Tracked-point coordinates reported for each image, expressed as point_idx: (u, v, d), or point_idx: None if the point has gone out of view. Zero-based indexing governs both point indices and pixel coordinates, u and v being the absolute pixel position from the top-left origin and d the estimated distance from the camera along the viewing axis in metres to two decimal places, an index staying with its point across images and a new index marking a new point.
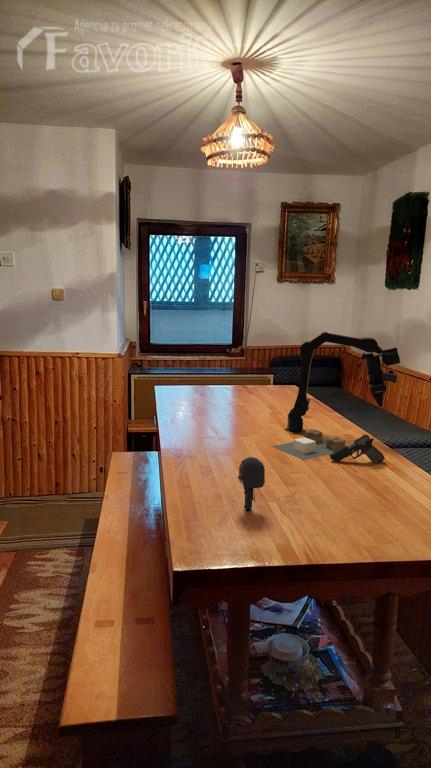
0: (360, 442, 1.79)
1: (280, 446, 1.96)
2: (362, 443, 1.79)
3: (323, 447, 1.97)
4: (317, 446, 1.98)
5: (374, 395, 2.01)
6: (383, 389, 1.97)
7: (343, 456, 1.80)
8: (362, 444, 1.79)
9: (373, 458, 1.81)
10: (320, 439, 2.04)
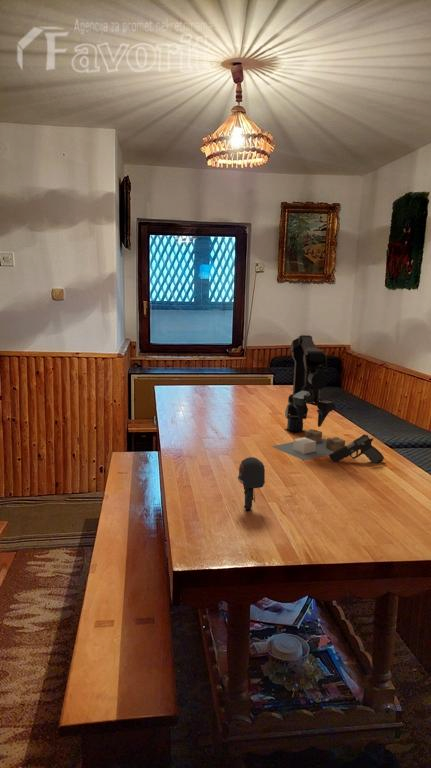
0: (359, 442, 1.79)
1: (280, 446, 1.96)
2: (361, 443, 1.79)
3: (323, 447, 1.97)
4: (317, 446, 1.98)
5: None
6: None
7: (342, 456, 1.80)
8: (361, 444, 1.79)
9: (372, 458, 1.80)
10: (320, 439, 2.04)
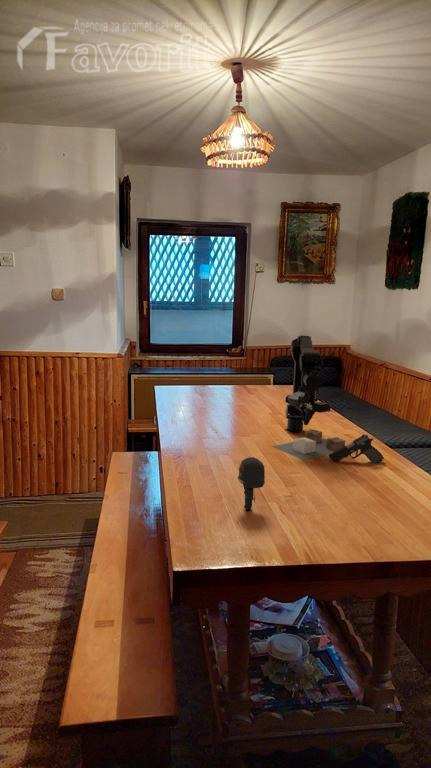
0: (359, 442, 1.79)
1: (280, 446, 1.96)
2: (361, 443, 1.79)
3: (323, 447, 1.97)
4: (317, 446, 1.98)
5: None
6: None
7: (342, 456, 1.80)
8: (361, 444, 1.79)
9: (372, 458, 1.80)
10: (320, 439, 2.04)
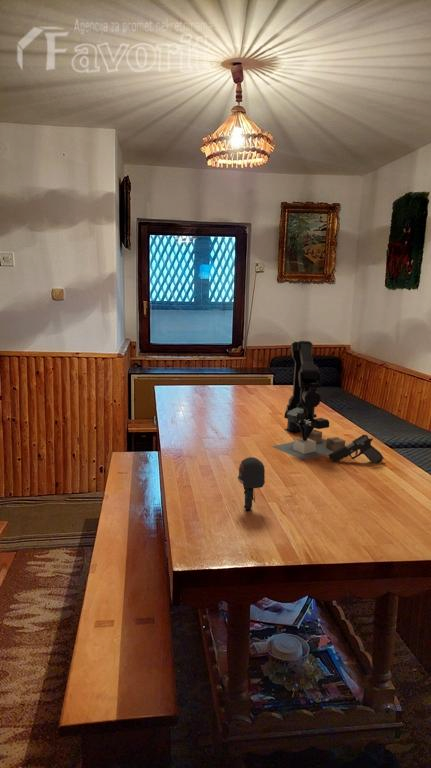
0: (359, 442, 1.79)
1: (280, 446, 1.96)
2: (361, 443, 1.79)
3: (323, 447, 1.97)
4: (317, 446, 1.98)
5: None
6: None
7: (342, 456, 1.80)
8: (361, 444, 1.79)
9: (372, 458, 1.80)
10: (320, 439, 2.04)
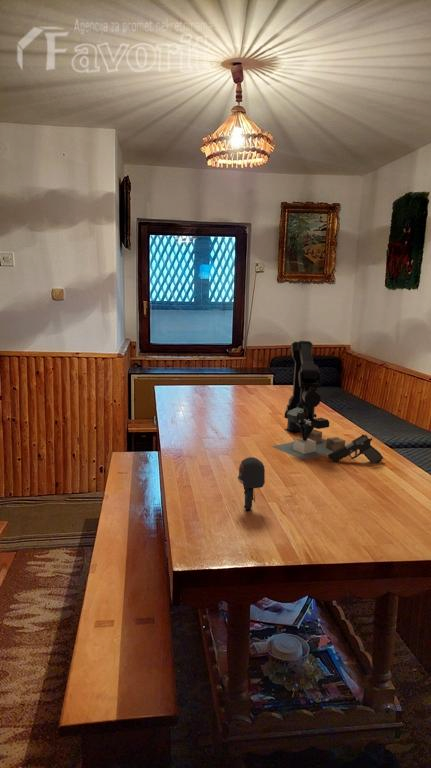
0: (358, 442, 1.79)
1: (280, 446, 1.96)
2: (360, 443, 1.79)
3: (323, 447, 1.97)
4: (317, 446, 1.98)
5: None
6: None
7: (341, 456, 1.80)
8: (360, 444, 1.79)
9: (371, 458, 1.80)
10: (320, 439, 2.04)
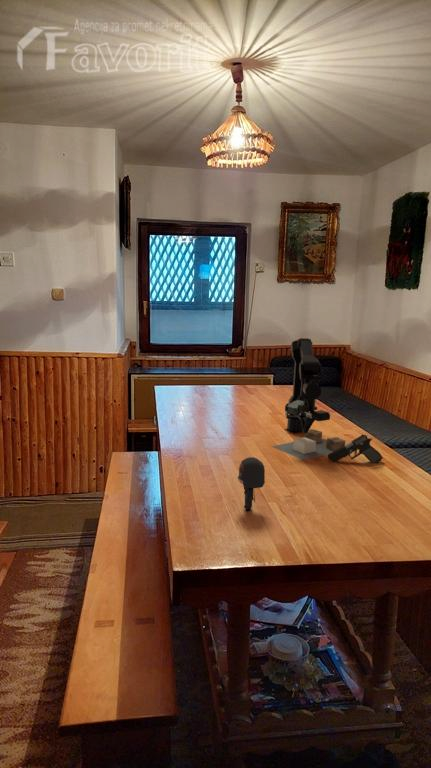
0: (358, 442, 1.79)
1: (280, 446, 1.96)
2: (360, 443, 1.79)
3: (323, 447, 1.97)
4: (317, 446, 1.98)
5: None
6: None
7: (341, 456, 1.80)
8: (360, 444, 1.79)
9: (371, 458, 1.80)
10: (320, 439, 2.04)
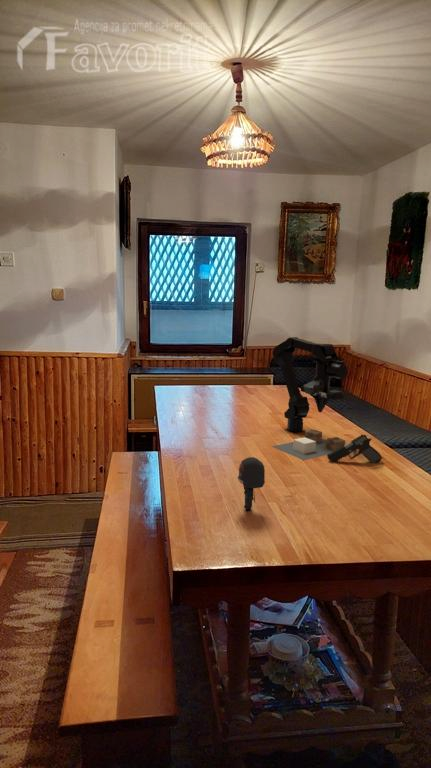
0: (357, 442, 1.79)
1: (280, 446, 1.96)
2: (359, 443, 1.79)
3: (323, 447, 1.97)
4: (317, 446, 1.98)
5: None
6: None
7: (340, 456, 1.80)
8: (359, 444, 1.79)
9: (370, 458, 1.80)
10: (320, 439, 2.04)
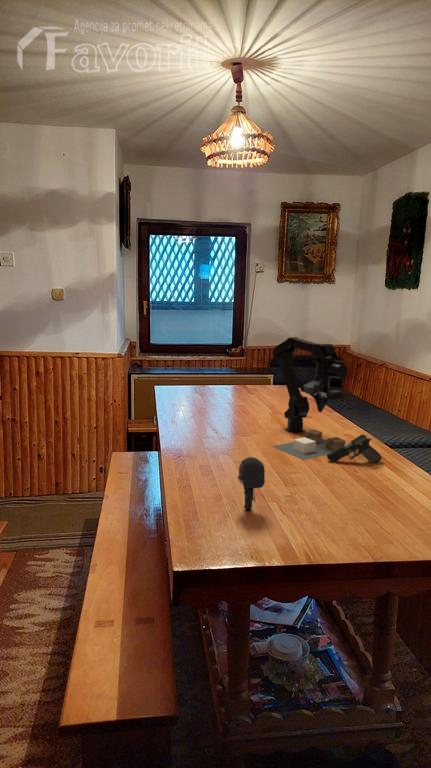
0: (357, 442, 1.79)
1: (280, 446, 1.96)
2: (359, 443, 1.79)
3: (323, 447, 1.97)
4: (317, 446, 1.98)
5: None
6: None
7: (340, 456, 1.80)
8: (359, 444, 1.79)
9: (370, 458, 1.80)
10: (320, 439, 2.04)
